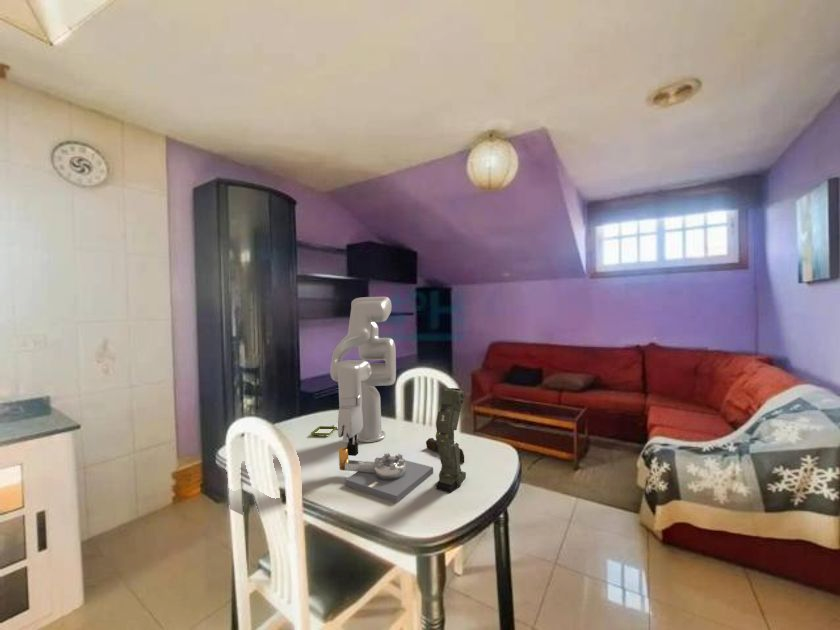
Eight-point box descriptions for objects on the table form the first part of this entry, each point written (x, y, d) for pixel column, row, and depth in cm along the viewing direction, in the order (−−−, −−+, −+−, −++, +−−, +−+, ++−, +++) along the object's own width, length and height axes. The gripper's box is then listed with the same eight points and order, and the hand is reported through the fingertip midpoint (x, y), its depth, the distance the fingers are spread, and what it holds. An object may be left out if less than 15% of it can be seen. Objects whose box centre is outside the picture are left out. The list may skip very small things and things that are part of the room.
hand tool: (425, 449, 135) (425, 437, 135) (433, 446, 137) (433, 434, 137) (458, 466, 120) (457, 453, 119) (466, 463, 122) (466, 450, 122)
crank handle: (409, 466, 115) (408, 446, 115) (400, 481, 106) (399, 459, 106) (346, 462, 121) (345, 442, 120) (332, 475, 111) (331, 454, 111)
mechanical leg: (447, 497, 99) (455, 388, 104) (425, 490, 102) (434, 386, 108) (467, 486, 110) (473, 389, 115) (447, 481, 114) (454, 387, 119)
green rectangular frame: (337, 430, 160) (337, 426, 159) (329, 438, 151) (329, 433, 151) (319, 430, 161) (319, 426, 161) (310, 437, 152) (310, 432, 152)
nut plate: (345, 485, 109) (345, 478, 109) (385, 460, 126) (385, 454, 126) (396, 503, 98) (396, 495, 98) (433, 473, 115) (433, 466, 115)
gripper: (350, 394, 126) (353, 445, 127) (329, 406, 112) (331, 463, 112) (370, 395, 124) (372, 446, 124) (350, 407, 110) (352, 465, 110)
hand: (352, 454), depth 118 cm, fingers closed
